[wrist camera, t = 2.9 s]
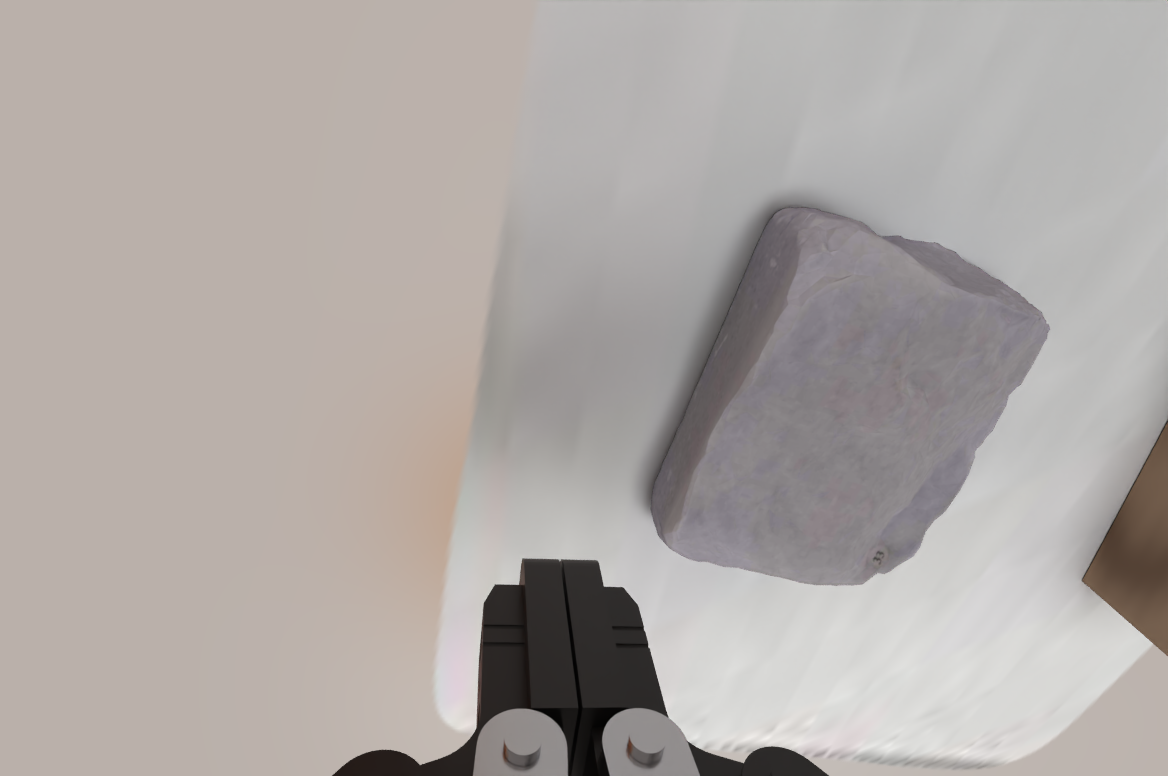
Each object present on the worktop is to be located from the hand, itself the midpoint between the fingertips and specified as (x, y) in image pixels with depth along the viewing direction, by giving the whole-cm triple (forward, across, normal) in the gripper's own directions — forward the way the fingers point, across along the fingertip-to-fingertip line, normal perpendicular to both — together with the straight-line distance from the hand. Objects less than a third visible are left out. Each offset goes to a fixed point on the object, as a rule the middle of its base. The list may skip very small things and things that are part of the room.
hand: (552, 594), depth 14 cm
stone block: (+10, -10, -1) cm, 14 cm away
